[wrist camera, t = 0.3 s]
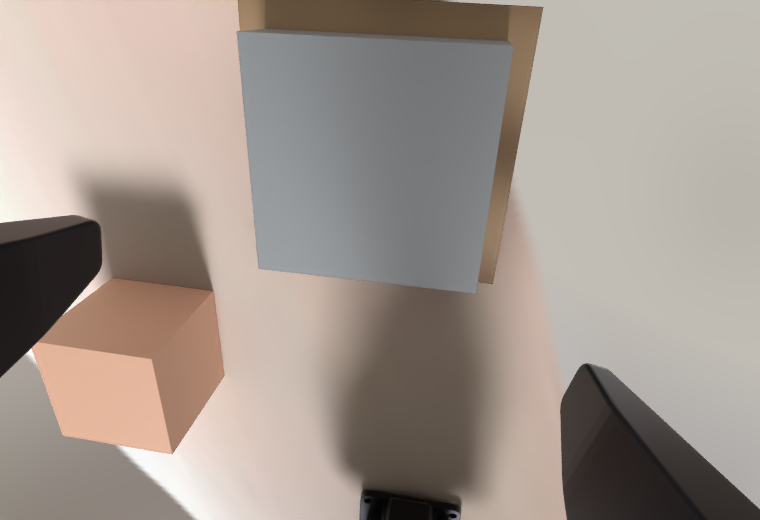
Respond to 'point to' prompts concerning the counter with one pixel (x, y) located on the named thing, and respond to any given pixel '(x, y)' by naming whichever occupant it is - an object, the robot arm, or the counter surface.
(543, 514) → the counter surface
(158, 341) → the terracotta block
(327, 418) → the counter surface
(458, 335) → the counter surface
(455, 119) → the grey slab
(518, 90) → the walnut slab
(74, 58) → the counter surface
